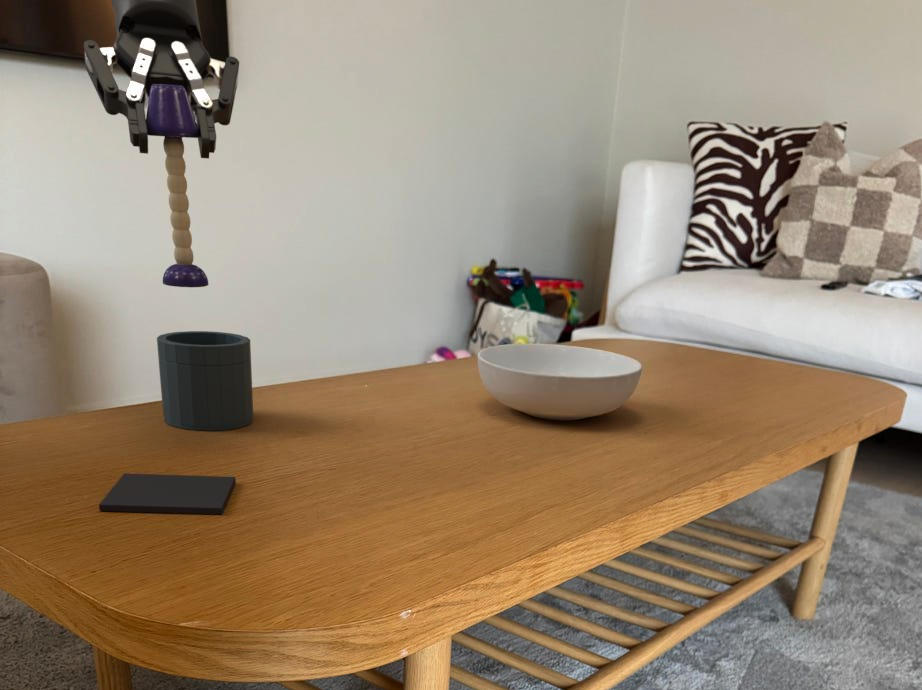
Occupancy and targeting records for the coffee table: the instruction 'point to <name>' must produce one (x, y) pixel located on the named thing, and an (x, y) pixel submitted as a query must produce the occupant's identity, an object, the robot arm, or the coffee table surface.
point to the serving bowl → (558, 379)
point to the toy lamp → (176, 175)
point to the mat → (169, 494)
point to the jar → (205, 380)
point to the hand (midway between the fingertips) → (175, 148)
